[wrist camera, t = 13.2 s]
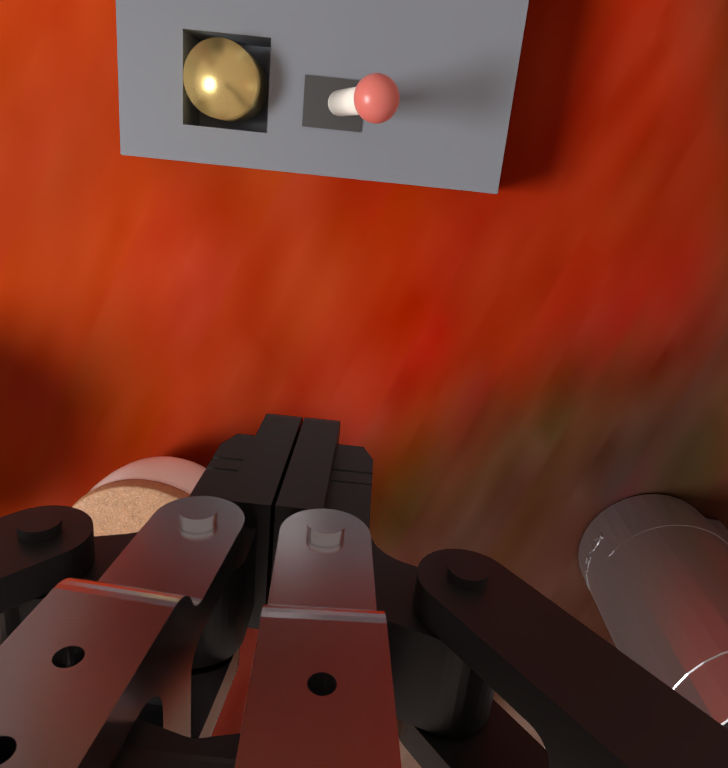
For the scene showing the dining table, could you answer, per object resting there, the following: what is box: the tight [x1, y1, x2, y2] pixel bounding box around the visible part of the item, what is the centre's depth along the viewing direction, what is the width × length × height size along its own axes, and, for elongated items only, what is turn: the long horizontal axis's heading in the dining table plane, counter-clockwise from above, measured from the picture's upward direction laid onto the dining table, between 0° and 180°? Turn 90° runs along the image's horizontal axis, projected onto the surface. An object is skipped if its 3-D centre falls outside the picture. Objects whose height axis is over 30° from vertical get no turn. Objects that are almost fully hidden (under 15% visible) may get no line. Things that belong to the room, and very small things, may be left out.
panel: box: [116, 0, 529, 194], centre depth 32 cm, size 20×16×4 cm
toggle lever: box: [328, 73, 400, 124], centre depth 29 cm, size 2×2×6 cm
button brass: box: [183, 37, 268, 123], centre depth 32 cm, size 4×4×3 cm
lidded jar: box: [72, 456, 206, 536], centre depth 40 cm, size 11×11×9 cm
